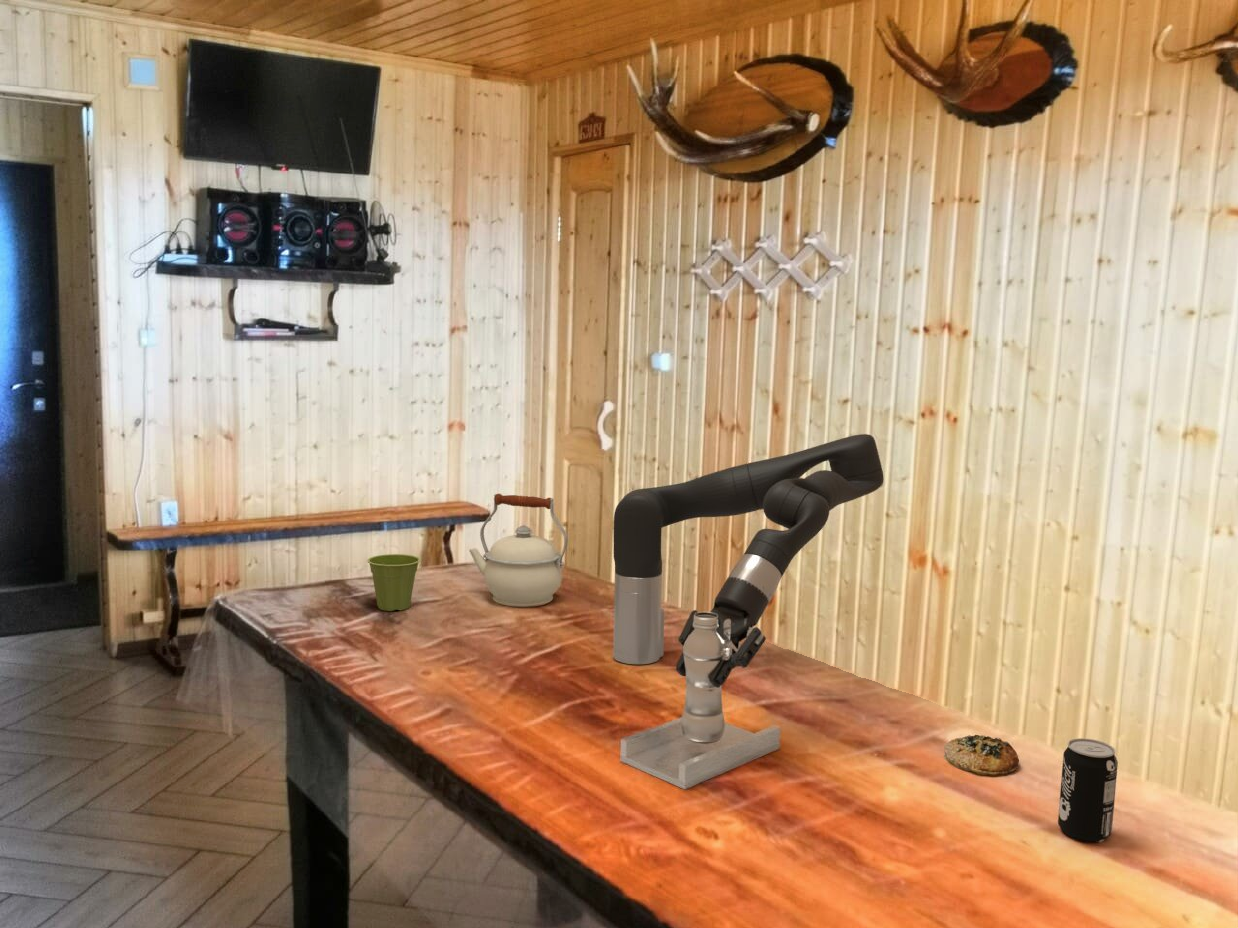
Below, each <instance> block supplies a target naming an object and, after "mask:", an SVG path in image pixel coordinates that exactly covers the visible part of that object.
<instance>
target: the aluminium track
mask: <svg viewBox="0 0 1238 928" xmlns="http://www.w3.org/2000/svg"><path fill="white" fill-rule="evenodd" d="M681 722H682V716H680V717H678V718H675V719H672V720H670V721H667V722H665V723H662V724H659V725H656V726H654V727H651V728H648V729H644V730H642V731H640V732H637V733H634V734H630V735H629V736H626V737H623V738H620V759H619V760H620V762H621V763H624V764H625V765H628V766H631V767H632V768H635V769H637V770H639V771H641V772H644V773H646V774H649V775H650V776H654V777H656V778H658V779H660V780H662V781H665V782H667V783H668V784H669V783H670V784H671V785H674V786H676V787H678V788H680V789H682V790H687V789H690V788H691V787H694V786H696V785H699V784H701V783H704V782H706V781H707V780H708V781H709V780H710V779H713V778H714V777H717V776H720V775H722V774H724V773H727V772H729V771H732V770H734V769H736V768H737V767H740V766H742V765H744V764H747V763H750V762H752V761H754V760H756V759H758V758H761V757H763V756H765V755H768V754H770V753H772V752H775V751H778V750H779V749H780V740H781V739H780V738H781V727H780V726H777V725H774V724H773V725H771V726H768V727H766V728H763V729H762V730H759V731H757V732H751V731H749V730H747V729H743V728H741V727H739V726H735V725H732V724H729V723H728V722H725V728H724V733H723V736H722V737H721V738H720V740H719V741H717V742H715V743H709V744H701V743H695V742H692V741H689V740H688V739H686V737H685V736H684V734H683V732H682V726H681Z"/></svg>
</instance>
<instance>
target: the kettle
mask: <svg viewBox="0 0 1238 928" xmlns="http://www.w3.org/2000/svg"><path fill="white" fill-rule="evenodd" d="M493 496H494V497H493V509H492V512H491V513H490V515H488V517H487V518H486V520H485V521H484V522H483V523H482V525H481V528H480V532H479V533H480V534H479V536H480V537H479V538H480V541H481V546H482V547H483V550H484V554H483V555H482V554H481V553H480V552H479V550H478V549H477V548H475V547H474V548H469V549H468V551H469V553H470V556H471V557H472V559H473V561H474V564H475V565H476V567H477V569H478V570H479V572H480V574H481V575H482V576H483V577H484V583H485V586H486V588H487V590H488V591H489V592H490V593H491V594H492V600H493V601H494V602H495V603H497V604H499V605H502V606H506V607H512V608H513V607H514V608H529V607H530V608H532V607H538V606H540V607H541V606H543V605H546V604H549V603H550V602H552V601H553V599H554V596H553V595H554V594H555V593H556V591H558V589H559V588H560V586H561V584H562V581H563V573H562V572H563V571H562V567H563V566H565V562H563V557H564V555H565V553H566V551H567V547H568V543H569V542H568V541H569V540H568V534H567V532H566V530H565V527H563V525H562V523H560V521H559V520H558V519H557V517H556V515H555V509H554V506H555V503H554V502H555V501H554V500H555V499H554V498H552V497H547V498H543V497H538V496H527V495H516V494H511V495H509V494H508V495H503V494H502V493H494V495H493ZM500 505H508V506H512V507H523V508H532V509H533V508H535V509H536V508H545V509H547V510H550V512H549V513H550V516H551V517H550V518H551V519H552V521H553V522H554V523H555V524H556V526H557V527H558V528H559V530H560V531H561V533H562V536H563V539H564V543H563V548H562V551H561V553H560V552H559V551H558V549H556V546H555V545H554V544H553V542H552V541H550V540H549V539H547V538H545V537H542V536H538V535H533V534H532V533H533V531H532V530H531V528H530V527H529V526H526V525H525V524H522V525H520V526H518V527H517V528H516V529H515V531H514V533H515V535H507V536H505V537H502V538H500V539H498V540H497V541H495V542H494V543H493V544H492V546H491V547H490V549H489V548H488V546H487V543H486V542H487V541H486V539H485V534H484V533H485V532H484V531H485V527H486V526H487V524H488V523H489V521H490V520H491V519H492V517H493V516H495V514H496V513H497V511H498V506H500Z"/></svg>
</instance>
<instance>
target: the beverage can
mask: <svg viewBox="0 0 1238 928" xmlns="http://www.w3.org/2000/svg"><path fill="white" fill-rule="evenodd" d="M1118 764H1119V762H1118V758H1117V757H1116V749H1115V748H1114V747H1113V746H1112V745H1110V744H1108V743H1106V742H1104V741H1101V740H1098V739H1093V738H1073V739H1070V740H1068V741H1067V748H1066V749H1065V750H1064V752H1063V756H1062V766H1061V767H1062V768H1061V780H1060V781H1061V782H1060V793H1059V803H1058V804H1059V806H1058V818H1057V824H1058V826H1059V828H1060V829H1061V831H1062V832H1063V833H1064V834H1065V835H1066V836H1067V837H1070V838H1072V839H1074V840H1077V841H1080V842H1086V843H1101V842H1103V841H1106V839H1108V838H1109V837H1111V835H1112V832H1113V821H1114V811H1115V799H1116V798H1115V797H1116V790H1117V789H1116V788H1117V776H1118V767H1119V766H1118Z"/></svg>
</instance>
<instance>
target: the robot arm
mask: <svg viewBox="0 0 1238 928" xmlns="http://www.w3.org/2000/svg"><path fill="white" fill-rule="evenodd" d="M827 461H828V463H829V468H830V470H827V469H825V470H824V469H822V470H818V471H814V472H813V473H810V474H809V475H808V476H806V477H804V478H803V477H802V476H803V475H804V474H806V473H807V472H808V471H809V470H811V469H813V468H814V467H816V466H818V465H820V464H822V463H824V462H827ZM883 483H884V471H883V466H882V463H881V458H880V454H879V451H878V446H877V443H876V440H875V438H874V436H873V435H871V434H867V433H866V434H865V433H862V434H860V433H859V434H855V435H854V434H853V435H850V436H846V437H844V438H839V439H836V440H833V441H828V442H826V443H823V444H820V445H817V446H813V447H810V448H806V449H802V450H800V451H797V452H793V453H789V454H788V453H787V454H786V455H780V456H776V457H770V458H766V459H763V460H757V461H753V462H748V463H744V464H738V465H736V466H735V465H734V466H732V467H731V466H730V467H728V468H724V469H721V470H717V471H713V472H712V473H708V474H705V475H701V476H699V477H696V478H693V479H691V480H687V481H684V482H680V483H676V484H675V483H674V484H669V485H662V486H656V487H654V486H653V487H646V488H639V489H635V490H631V491H630V492H628V493H627V494H625V495H624V496H623V497H622V498H621V500H620V501H619V502H618V503H617V505H616V507H615V510H614V515H613V561H614V595H613V596H614V598H613V599H614V602H613V603H614V604H613V606H614V607H613V648H612V649H613V651H612V652H613V654H612V655H613V659H614V660H615V661H617V662H620V663H623V664H628V665H648V664H654V663H655V662H658V661H660V660H661V659H660V658H663V657H664V645H665V644H664V642H665V641H664V639H665V637H664V635H665V610H664V608H662V586H663V585H662V583H663V582H662V581H663V579H662V578H663V558H662V529H663V528H665V527H668V526H671V525H673V524H677V523H680V522H684V521H686V520H691V519H698V518H721V517H722V518H723V517H731V516H733V517H734V516H739V515H743V514H744V515H745V514H748V513H753V512H757V511H760V510H763V512H764V515H765V517H766V518H767V519H768V520H769V521H770V522H771V523H774V524H777V525H778V526H782V527H783V528H786V529H785V530H779V529H773V528H762V529H760V530H758V531H757V532H756V533H755V534H754V536H753V538H752V540H751V542H750V543H749V544H748V545H747V546H748V547H747V548H746V549H745V551H744V553H743V555H742V557H740V559H739V560H738V562H737V563H736V564H735V565H734V567H733V568H732V570H731V571H730V574H729V575H728V577H727V578H726V580H725V582H724V583H723V585H722V587H721V589H720V590H719V592H718V594H716V597H715V599H714V604H713V608H712V609H711V610H710V611H709V612H712V613H716V614H717V615H718V624H719V627H718V628H717V629H716V630H717V632H718V634H719V635H720V636H721V638H722V640H723V644H724V646H725V652H724V655H723V659H724V660H720V662H719V663H718V665H717V667H716V668H715V670H714V672H713V674H712V675H711V677H710V682H711V684H712V685H713V686H714V687H717V688H719V687H720V686H721V685H722V686H723V685H724V684H725V682H726V681H727V679H728V677H729V675H730V674H731V672H732V670H733V669H735V668H736V667H741V668H747V667H748V666H749V664H750V663H751V661H752V660H753V659H754V657H755V656H756V655H757V652H758V651H759V650H760V649H761V647H763V644H764V643H765V641H766V639H767V638H766V636H765V634H764V633H763V631H762V630H760V628H759V627H755V626H756V625H757V624H758V622H759V621H760V619H761V618H762V616H763V614H764V612H765V610H766V609H767V607H768V605H769V603H770V601H771V600H772V598H773V597H774V596H775V595H774V594H775V593H776V591H777V588H778V586H779V583H780V581H781V579H782V578H783V575H784V574H785V572H786V570H787V569H788V567H789V566H790V564H791V562H792V560H793V559H794V557H796V555H797V554H798V553H799V552H800V551H801V550H802V549H803V548H804V547H805V546H806V545H807V544H808V543H809V542H810V541H811V540H812V539H814V537H816V536H817V535H818V534H819V532H821V531H822V530H823V528H824V526H825V525H826V523H827V521H828V520H829V516H830V511H832V510H833V509H834V508H836V507H838V506H839V505H842V504H844V503H848V502H851V501H854V500H857V499H859V498H862V497H864V496H867V495H869V494H872V493H874V492H875V491H877V490H878V489H880V488H881V487H882V486H883ZM697 612H698V610H697V609H695V610H692V611H691V612H690V614H689V616H688V618H687V620H686V623H685V625H684V627H683V628H682V630H681V632H680V635H679V636H678V639H677V640H678V642H679V643H680V644H681V646H684V643H685V641H686V639H687V638H688V636H689V635H690V634H691V633H692V632H693V631H694V627H693V622H694V614H695V613H697ZM742 641H743V642H742ZM741 642H742V644H741ZM675 667H676V668H675V671H677V673H678V674H679V675H680V676H682V677H686V670H685V662H684V654H683V652H682V654H681V655H680V657H679V658H678V659H677V662H676V665H675Z"/></svg>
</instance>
